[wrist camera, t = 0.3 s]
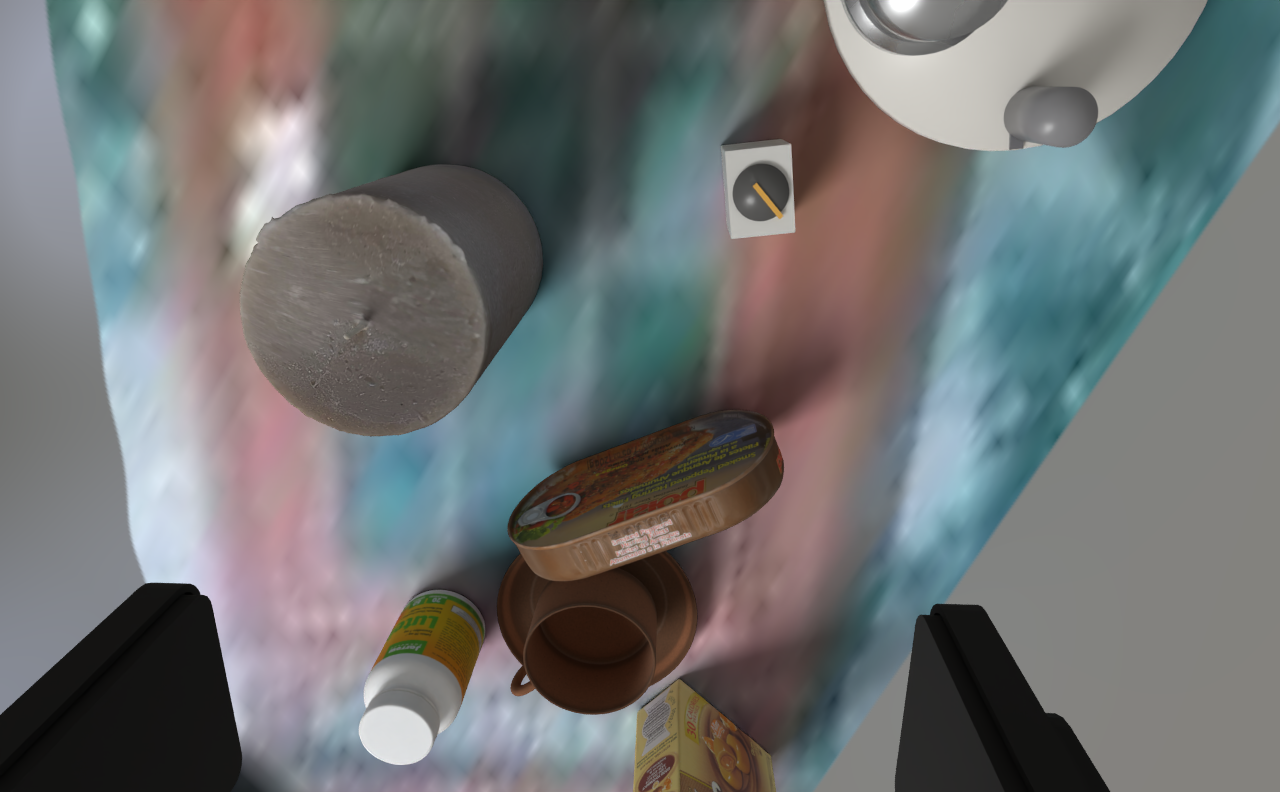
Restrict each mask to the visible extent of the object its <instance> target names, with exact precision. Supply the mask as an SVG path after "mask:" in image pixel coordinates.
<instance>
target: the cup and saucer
mask: <svg viewBox="0 0 1280 792" xmlns="http://www.w3.org/2000/svg"><path fill="white" fill-rule="evenodd" d="M497 616H498V623H499V626H500V630H501V633H502V636H503V638H504V640H505V642H506V644H507V646H508V648H509V649H510V651H511V652H512V654H513V655H514V656H515V657H516V659H517V660H518V661H519V662H520V663H521V664H522V665H523V666H522V667H521V668H520V669H519V670H518V672H517V673H516V675H515V676H514V678H513V680H512V683H511V692H512V694H514V695H515V696H523V695H525V694H527V693H529V692H531V691H533V690H534V689H536V690H537V691H538V692H539V693H540V694H541V695H542V696H543V697H544V698H546V699H547V700H548V701H550V702H551V703H553V704H555V705H556V706H558V707H560V708H563V709H565V710H568V711H571V712H575V713H580V714H591V715H596V714H606V713H611V712H615V711H618V710H621V709H623V708H625V707H627V706H629V705H631V704H632V703H634V702H635V701H636V700H638V699H639V698H640V697H641V696H642V695H643V694H644V693H645V692H646V690H647V689H648V687H649V686H651V685H653V684H655V683H657V682H658V681H660V680H662V679H663V678H664V677H666V676H667V675H668V674H670V673H671V672H672V671H673V670H674V669H675V668H676V667H677V666H678V665H679V664H680V662H681V661H682V660H683V658H684V657H685V656H686V654H687V652H688V650H689V649H690V646H691V644H692V642H693V639H694V636H695V632H696V626H697V606H696V600H695V596H694V593H693V590H692V587H691V585H690V582H689V580H688V578H687V576H686V575H685V573H684V571H683V570H682V568H681V567H680V565H679V564H678V563H677V562H676V561H675V559H674V558H673V557H672V556H671V555H670V554H669V553H668V552H667V551H664V552H661V553H658V554H655V555H652V556H649V557H646V558H643V559H640V560H637V561H634V562H632V563H629V564H626V565H623V566H620V567H617V568H614V569H611V570H608V571H605V572H602V573H599V574H596V575H593V576H590V577H587V578H583V579H578V580H572V581H552V580H548V579H544V578H542V577H540V576H538V575H537V574H535V573H534V572H533V571H532V570H531V568H530V567H529V566H528V564H527V563H526V561H525V559H524V558H523V556H522V554H521V553H520V554H519V555H518V557H517V558H516V559H515V560H514V561H513V563H512V564H511V565H510V567H509V568H508V570H507V572H506V573H505V576H504V578H503V580H502V582H501V586H500V589H499V593H498V599H497ZM526 674H527V676H528V678H529V680H530V681H529V682H528V683H526V684H524V685H521V682H522V680H523V678H524V677H525V675H526Z"/></svg>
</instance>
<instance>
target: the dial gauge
mask: <svg viewBox="0 0 1280 792" xmlns="http://www.w3.org/2000/svg"><path fill="white" fill-rule="evenodd" d="M721 153H722V167H723V180H724V194H725V207H726V220H727V227H728V230H729V233H730V236H731V239H735V238H745V237H755V236H765V235H774V234H784V233H794V232H795V215H794V194H793V173H792V152H791V144H790V143H788V142H786V141H784V140H783V139H774V140H765V141H756V142H747V143H738V144H729V145H721Z"/></svg>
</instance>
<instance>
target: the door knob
mask: <svg viewBox="0 0 1280 792" xmlns="http://www.w3.org/2000/svg"><path fill="white" fill-rule="evenodd" d="M1007 1H1008V0H841V3H842V6H843V9H844V12H845V14H846V16H847V18H848V20H849V22H850V23H851V25H852V26H853V27H854V29H855V30H856V31H857V32H858V34H859V35H860V36H861V37H862V38H863V39H865V40H866V41H867V42H868V43H870V44H871V45H873V46H874V47H876V48H878V49H880V50H882V51H885V52H887V53H891V54H895V55H901V56H920V55H927V54H932V53H937V52H940V51H943V50H946V49H948V48H950V47H952V46H954V45H956V44H958V43H959V42H961V41H963V40H964V39H966V38H967V37H968V36H969V35H971V34H972V33H973V32H974V31H975V30H976V29H978V28H979V27H981V26H983V25H984V24H986V23H987V22H988V21H989V20H990V19H992V18H993V17H994V16H995V15H996V14H997V13H998V12H999V11H1000V10H1001V9H1002V7H1003V6H1004V5H1005V4H1006V2H1007Z"/></svg>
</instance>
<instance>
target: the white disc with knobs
mask: <svg viewBox="0 0 1280 792" xmlns="http://www.w3.org/2000/svg"><path fill="white" fill-rule="evenodd" d="M823 2H824V6H825V11H826V15H827V20H828V24H829V28H830V31H831V34H832V36H833V39H834V42H835V45H836V47H837V50H838V52H839V54H840V56H841V58H842V60H843V62H844V64H845V66H846V68H847V69H848V71H849V73H850V74H851V76H852V77H853V79H854V80H855V81H856V83H857V84H858V86H859V87H860V88H861V90H862V91H863V92H864V93H865V94H866V95H867V96H868V98H869V99H870V100H871V101H872V102H873V103H874V104H875V105H876V106H877V107H878V108H879V109H880V110H882V111H883V112H884V113H885V114H887V115H888V116H889V117H890V118H892V119H893V120H894V121H896V122H897V123H899V124H900V125H902V126H904V127H906V128H907V129H909V130H911V131H913V132H914V133H916V134H919V135H921V136H924V137H926V138H929V139H931V140H934V141H936V142H940V143H944V144H948V145H953V146H957V147H961V148H966V149H974V150H985V151H1004V150H1018V149H1024V148H1030V147H1036V146H1041V145H1049V146H1054V147H1062V148H1064V147H1071V146H1074V145H1077V144H1079V143H1080V142H1082V141H1083V140H1085V139H1086V138H1087V137H1088V136H1089V135H1090V133H1091V132H1092V131H1093V129H1094V127H1095V125H1096V123H1097V122H1099V121H1101V120H1102V119H1104V118H1106V117H1108V116H1109V115H1111V114H1113V113H1114V112H1115V111H1117V110H1118V109H1119V108H1121V107H1122V106H1123V105H1125V104H1126V103H1127V102H1129V101H1130V100H1131V99H1133V98H1134V97H1135V96H1136V95H1137V94H1138V93H1139V92H1140V91H1142V90H1143V89H1144V88H1145V87H1146V86H1147V85H1148V84H1149V83H1150V82H1151V81H1152V80H1153V79H1154V78H1155V77H1156V76H1157V75H1158V74H1159V73H1160V72H1161V70H1162V69H1163V68H1164V67H1165V66H1166V65H1167V64H1168V62H1169V61H1170V60H1171V59H1172V58H1173V57H1174V55H1175V54H1176V53H1177V51H1178V50H1179V48H1180V47H1181V45H1182V44H1183V42H1184V41H1185V40H1186V38H1187V37H1188V35H1189V34H1190V32H1191V31H1192V29H1193V27H1194V25H1195V24H1196V22H1197V20H1198V18H1199V16H1200V14H1201V13H1202V11H1203V9H1204V7H1205V5H1206V3H1207V0H1008V1H1007V2H1006V4H1005V5H1004V6H1003V7H1002V9H1001V10H1000V11H999V12H998V13H997V14H996V15H995V16H994V17H993V18H992V19H990V20H989V21H988V22H987V23H986V24H984V25H983V26H981V27H979V28H978V29H976V30H975V31H974V32H973V33H972V34H971V35H969V36H968V37H967V38H966V39H964V40H963V41H961V42H959V43H958V44H956V45H954V46H952V47H950V48H948V49H946V50H943V51H940V52H937V53H932V54H927V55H920V56H901V55H895V54H891V53H887V52H885V51H882V50H880V49H878V48H876V47H874V46H873V45H871V44H870V43H868V42H867V41H866V40H865V39H863V38H862V37H861V36H860V35H859V34H858V32H857V31H856V30H855V29H854V27H853V26H852V25H851V23H850V22H849V20H848V18H847V16H846V14H845V12H844V9H843V6H842V3H841V0H823Z"/></svg>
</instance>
